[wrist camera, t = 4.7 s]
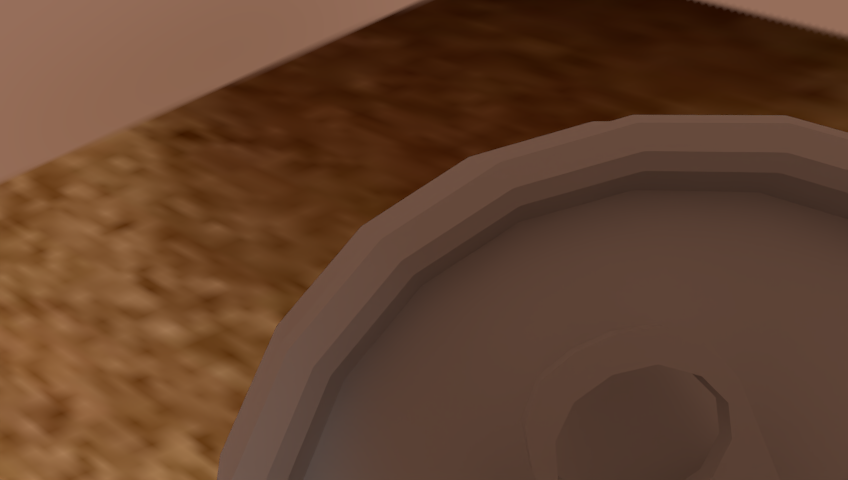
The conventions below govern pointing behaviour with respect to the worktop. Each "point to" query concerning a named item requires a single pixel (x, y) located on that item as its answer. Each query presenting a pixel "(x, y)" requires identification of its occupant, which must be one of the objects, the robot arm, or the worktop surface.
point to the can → (578, 317)
